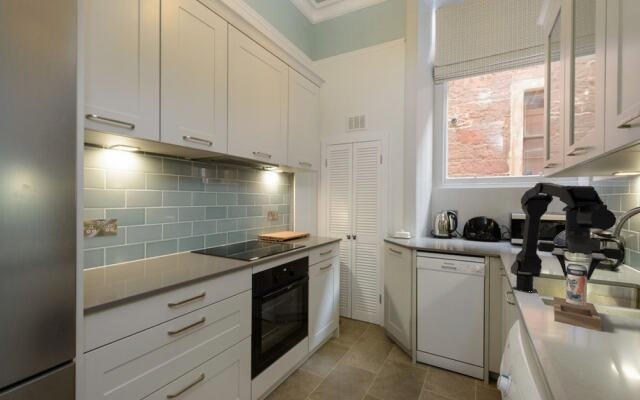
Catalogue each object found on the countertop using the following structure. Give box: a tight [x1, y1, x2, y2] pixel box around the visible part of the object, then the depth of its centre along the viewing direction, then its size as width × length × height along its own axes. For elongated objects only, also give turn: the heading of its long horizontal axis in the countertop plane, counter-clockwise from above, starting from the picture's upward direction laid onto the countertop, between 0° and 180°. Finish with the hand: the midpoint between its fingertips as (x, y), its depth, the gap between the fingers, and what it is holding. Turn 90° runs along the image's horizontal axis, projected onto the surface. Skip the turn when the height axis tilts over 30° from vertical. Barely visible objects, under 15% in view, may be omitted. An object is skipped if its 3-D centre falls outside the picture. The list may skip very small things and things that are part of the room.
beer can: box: [565, 263, 588, 307], centre depth 86 cm, size 5×5×12 cm
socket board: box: [553, 296, 602, 332], centre depth 89 cm, size 18×10×3 cm, turn 141°
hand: (576, 278), depth 86 cm, fingers closed on beer can, 5 cm apart
